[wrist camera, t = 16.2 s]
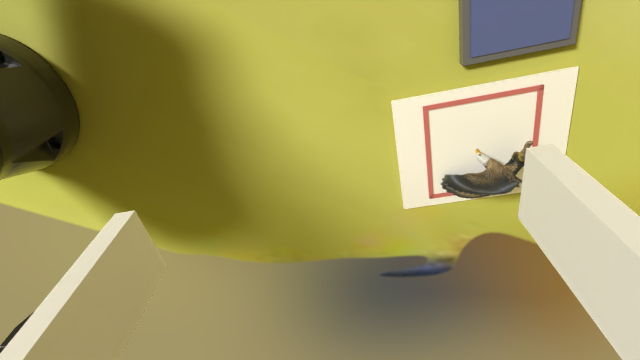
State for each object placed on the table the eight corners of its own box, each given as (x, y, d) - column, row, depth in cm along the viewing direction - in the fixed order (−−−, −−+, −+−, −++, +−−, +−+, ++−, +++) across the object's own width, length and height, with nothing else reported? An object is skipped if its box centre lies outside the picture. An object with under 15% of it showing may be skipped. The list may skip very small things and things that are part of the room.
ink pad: (459, 63, 35) (463, 66, 34) (458, -42, 31) (462, -42, 30) (569, 41, 34) (576, 44, 33) (584, -72, 29) (593, -73, 28)
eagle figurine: (504, 113, 36) (428, 165, 38) (558, 162, 32) (471, 218, 34) (504, 148, 43) (439, 191, 44) (550, 193, 39) (477, 238, 40)
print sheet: (403, 207, 45) (404, 209, 44) (391, 100, 38) (391, 102, 37) (559, 185, 42) (561, 187, 42) (577, 66, 35) (579, 67, 35)
